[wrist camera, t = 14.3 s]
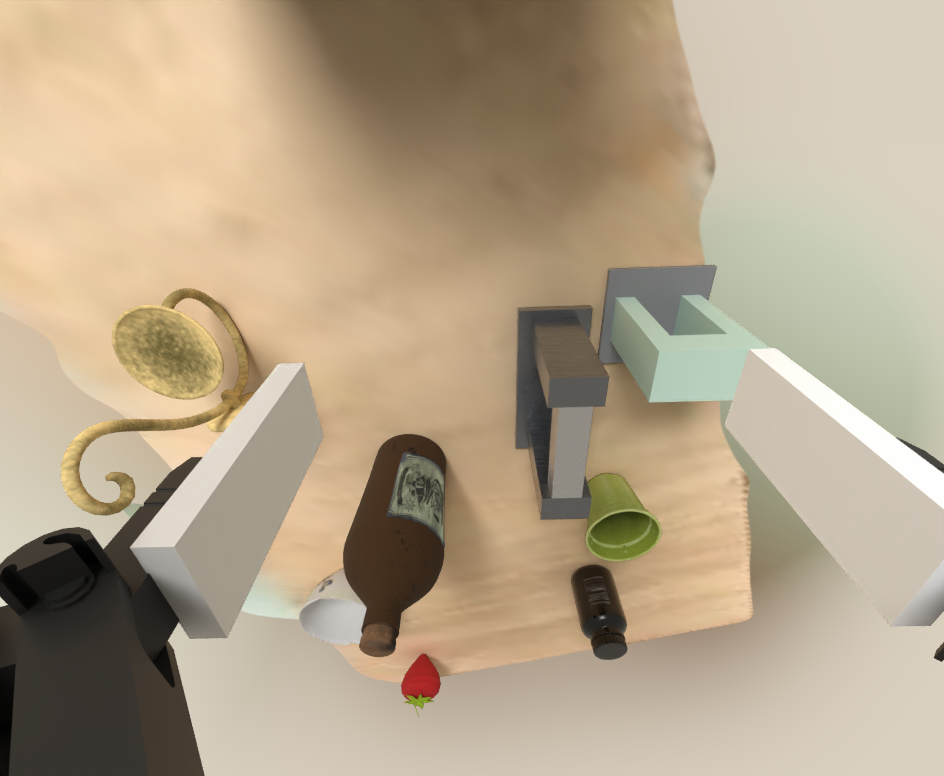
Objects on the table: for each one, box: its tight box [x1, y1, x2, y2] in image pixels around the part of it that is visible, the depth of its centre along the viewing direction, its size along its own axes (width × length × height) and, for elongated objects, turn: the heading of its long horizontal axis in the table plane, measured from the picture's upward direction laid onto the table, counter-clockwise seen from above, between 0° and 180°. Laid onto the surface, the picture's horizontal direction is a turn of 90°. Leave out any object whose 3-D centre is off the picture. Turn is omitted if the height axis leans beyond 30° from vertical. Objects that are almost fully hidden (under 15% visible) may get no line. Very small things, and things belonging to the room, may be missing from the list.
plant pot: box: [585, 473, 662, 561], centre depth 59 cm, size 9×9×9 cm
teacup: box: [299, 568, 366, 645], centre depth 70 cm, size 15×12×8 cm
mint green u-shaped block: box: [610, 295, 770, 402], centre depth 43 cm, size 5×9×13 cm, turn 92°
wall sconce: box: [61, 289, 255, 515], centre depth 39 cm, size 14×10×25 cm
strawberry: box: [401, 654, 441, 711], centre depth 81 cm, size 6×8×10 cm
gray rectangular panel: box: [598, 265, 717, 364], centre depth 49 cm, size 11×11×1 cm
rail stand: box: [515, 305, 609, 520], centre depth 47 cm, size 19×8×14 cm, turn 2°
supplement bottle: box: [571, 565, 627, 660], centre depth 68 cm, size 7×7×12 cm
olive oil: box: [343, 434, 446, 657], centre depth 49 cm, size 11×11×25 cm
